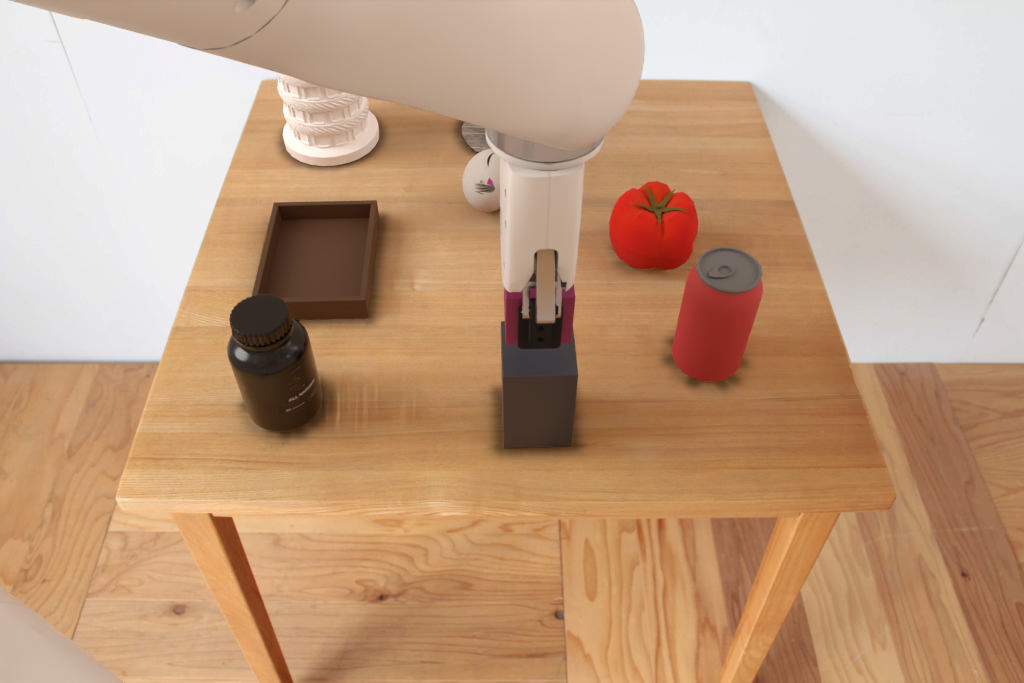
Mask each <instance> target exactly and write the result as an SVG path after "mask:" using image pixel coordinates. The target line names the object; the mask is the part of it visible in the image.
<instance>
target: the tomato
mask: <svg viewBox="0 0 1024 683" xmlns="http://www.w3.org/2000/svg"><path fill="white" fill-rule="evenodd" d="M675 191H676V188H674V189H673V190H672V189H670V187H669V186H668V184H667V183H665V182H661V181H658V180H654V181H647V182H646V183H644V184H641V186H640V187H639V188H634V187H632V188H630V189H628V190H626V191H625V192H623V193H622V194H621V195H620V196H619V197H618V199H617V200H616V202H615V203H614V205H613V208H612V210H611V214H610V216H609V217H610V218H609V222H608V231H609V234H608V235H609V241H610V244H611V246H612V249H613V251H614V253H615V254H616V256H617V258H618V259H619V260H621V261H622V262H623V263H624V264H626V265H627V266H629V267H631V268H634V269H638V270H654V269H659V270H662V271H671V270H677V269H678V268H680V267H682V266H683V265H685V264H686V263H687V262H688V261H689V260H690V259H691V256H692V253H693V252H694V251H693V250H694V243H695V241H696V239H697V236H698V233H699V218H698V212H697V208H696V204H695V201H694V200H693V199H692V198H691V196H689V194H688V193H686V192H684V191H679V192H675Z"/></svg>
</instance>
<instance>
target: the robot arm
mask: <svg viewBox="0 0 1024 683" xmlns="http://www.w3.org/2000/svg"><path fill="white" fill-rule="evenodd" d="M8 1H9V2H14V3H18V4H21V5H26V6H28V7H32V8H36V9H40V10H44V11H47V12H51V13H56V14H58V15H62V16H67V17H71V18H75V19H80V20H87V21H90V22H91V21H92V22H95V23H98V24H102V25H106V26H110V27H114V28H118V29H120V30H121V29H122V30H126V31H128V32H133V33H136V34H140V35H144V36H148V37H150V38H151V37H152V38H156V39H159V40H162V41H167V42H170V43H174V44H177V45H179V46H181V47H185V48H188V49H191V50H195V51H199V52H203V53H206V54H210V55H214V56H218V57H221V58H224V59H228V60H232V61H234V62H238V63H242V64H246V65H249V66H252V67H256V68H260V69H264V70H268V71H271V72H274V73H275V72H277V73H281V74H284V75H288V76H291V77H294V78H297V79H299V80H302V81H305V82H308V83H311V84H315V85H318V86H322V87H325V88H329V89H333V90H337V91H341V92H346V93H350V94H354V95H359V96H363V97H367V98H368V99H373V100H378V101H382V102H387V103H390V104H396V105H401V106H404V107H409V108H414V109H418V110H421V111H424V112H425V111H426V112H428V113H432V114H436V115H439V116H443V117H446V118H451V119H454V120H457V121H460V122H463V123H464V122H467V123H471V124H474V125H477V126H481V127H484V128H486V129H485V134H486V140H487V143H488V145H489V147H490V148H491V149H492V151H493V152H494V153H495V154H496V155H498V156H499V157H500V209H499V237H500V238H499V239H500V240H499V241H500V264H501V265H500V266H501V267H500V268H501V282H502V286H503V289H504V288H505V289H506V290H507V291H508V292H522V307H518V347H519V348H520V349H556V348H559V347H560V345H561V333H562V320H563V306H561V305H562V288H564V290H565V291H567V290H569V289H570V288H571V287H572V286H573V284H574V285H575V278H576V272H577V265H578V264H577V263H578V254H579V245H580V235H581V234H580V233H581V223H582V212H583V211H582V210H583V197H584V186H585V185H584V184H585V171H586V170H585V169H586V163H587V162H589V161H590V160H591V159H593V158H595V157H596V155H598V153H599V152H600V151H601V150H602V149H603V146H604V145H605V142H606V141H605V138H606V135H608V134H609V133H610V132H611V131H612V130H613V129H614V128H615V127H616V126H617V125H618V124H619V123H620V121H621V120H622V118H623V117H624V116H625V115H626V113H627V111H628V109H629V108H630V106H631V104H632V102H633V100H634V98H635V96H636V93H637V91H638V89H639V85H640V82H641V79H642V76H643V70H644V64H645V51H646V43H645V30H644V25H643V20H642V16H641V14H640V11H639V8H638V6H637V4H636V1H635V0H8ZM555 270H556V273H555ZM534 271H536V274H533V273H534ZM533 288H536V302H530V289H533ZM0 683H126V682H125V681H124V680H122V679H121V678H120V677H119V676H118V675H117V674H116V673H114V672H113V671H112V670H111V669H109V668H108V667H107V666H105V664H103V663H102V662H101V661H100V660H98V659H97V658H95V657H94V656H93V655H92V654H90V653H89V652H88V651H87V650H85V649H84V648H83V647H82V646H80V645H79V644H78V643H76V641H74V640H73V639H71V638H70V637H69V636H68V635H66V634H65V633H64V632H62V631H61V630H60V629H59V628H58V627H56V626H54V624H52V623H50V622H49V620H47V619H46V618H44V617H43V616H42V615H41V614H39V613H38V612H37V611H36V610H34V609H32V608H31V607H30V606H27V605H26V604H24V603H23V602H22V601H21V600H19V599H18V598H17V597H16V596H15V595H13V594H12V593H10V592H9V590H7V589H5V588H4V587H3V586H2V585H0Z"/></svg>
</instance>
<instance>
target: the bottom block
mask: <svg viewBox="0 0 1024 683" xmlns="http://www.w3.org/2000/svg"><path fill="white" fill-rule="evenodd" d="M500 358H501V360H500V361H501V362H500V363H501V364H500V365H501V366H500V367H501V369H500V370H501V410H502V411H501V412H502V415H501V416H502V437H503V438H502V443H503V444H502V445H503V448H504V449H514V448H515V449H517V448H518V449H519V448H520V449H521V448H555V447H557V448H558V447H572V445H573V436H574V427H575V426H574V425H575V415H576V404H577V395H578V394H577V393H578V382H579V368H578V358H577V349H576V340H575V331H574V329H573V330H572V341H571V343H570V344H561V345H560V347H559V348H556V349H520V348H519V347H518V345H506V344H505V320H501V321H500Z"/></svg>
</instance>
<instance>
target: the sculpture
mask: <svg viewBox="0 0 1024 683" xmlns="http://www.w3.org/2000/svg"><path fill="white" fill-rule="evenodd" d="M485 129H486V128H484V127H481V126H477V125H474V124H471V123H467V122H464V121H463V123H462V126H461V136H462V137H463V140H464V142H465V143H466V145H468V147H470V149H473V150H474V152H476V153H479V152H481V151H484V150H487V149H491V148H490V147H489V145H488V143H487V140H486V134H485Z"/></svg>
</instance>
